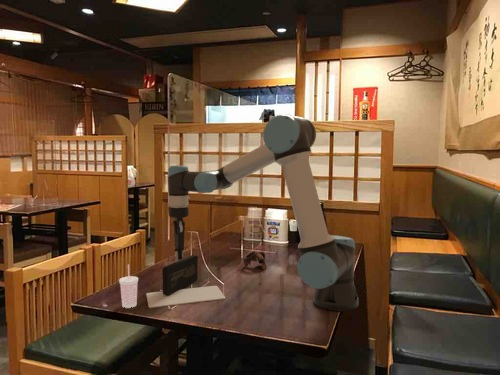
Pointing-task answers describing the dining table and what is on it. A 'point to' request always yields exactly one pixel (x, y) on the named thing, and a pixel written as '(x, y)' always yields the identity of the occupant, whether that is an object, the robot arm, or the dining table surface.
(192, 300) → the beige mat
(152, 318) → the dining table surface
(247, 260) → the pottery mug
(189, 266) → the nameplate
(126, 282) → the beverage cup
